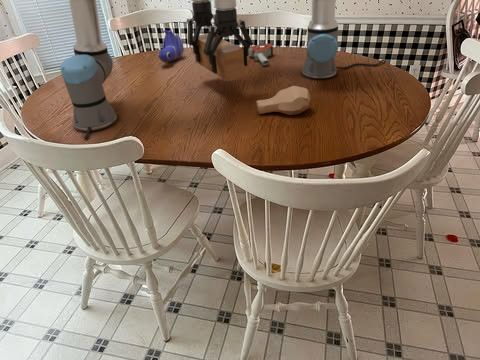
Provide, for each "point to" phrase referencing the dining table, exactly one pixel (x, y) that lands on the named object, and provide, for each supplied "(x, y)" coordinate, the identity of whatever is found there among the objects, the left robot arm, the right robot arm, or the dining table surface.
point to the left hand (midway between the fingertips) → (230, 68)
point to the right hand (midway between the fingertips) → (207, 59)
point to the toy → (171, 47)
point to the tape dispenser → (261, 53)
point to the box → (223, 59)
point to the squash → (286, 101)
